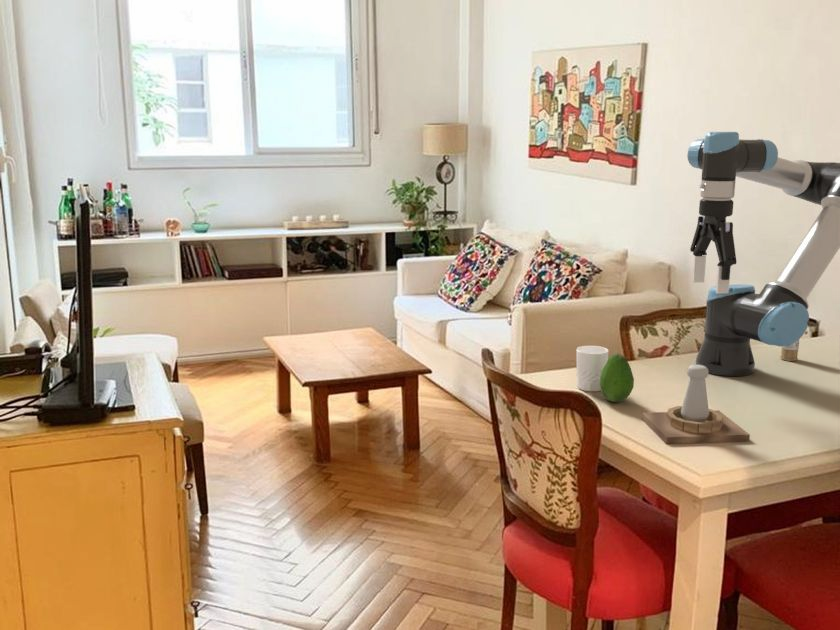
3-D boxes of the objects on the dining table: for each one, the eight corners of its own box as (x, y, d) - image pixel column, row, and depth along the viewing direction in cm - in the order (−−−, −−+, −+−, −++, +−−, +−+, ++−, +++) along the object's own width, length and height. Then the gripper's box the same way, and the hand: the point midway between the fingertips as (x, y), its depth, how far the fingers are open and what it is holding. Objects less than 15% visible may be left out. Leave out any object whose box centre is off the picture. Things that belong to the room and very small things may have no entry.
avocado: (604, 407, 196) (606, 358, 193) (594, 396, 204) (597, 349, 201) (637, 406, 197) (640, 357, 194) (626, 395, 204) (629, 348, 202)
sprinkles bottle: (787, 356, 238) (791, 310, 235) (801, 360, 234) (806, 313, 231) (776, 358, 236) (781, 312, 233) (790, 362, 232) (795, 315, 229)
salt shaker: (700, 417, 185) (704, 361, 182) (713, 426, 179) (717, 369, 176) (675, 419, 184) (679, 362, 181) (687, 428, 178) (692, 370, 175)
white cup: (570, 389, 209) (572, 351, 207) (580, 381, 216) (581, 344, 214) (601, 394, 206) (603, 355, 203) (610, 385, 212) (612, 347, 210)
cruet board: (718, 416, 190) (719, 402, 189) (749, 441, 175) (750, 425, 174) (641, 419, 188) (642, 404, 188) (666, 444, 174) (667, 428, 173)
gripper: (680, 194, 207) (674, 278, 212) (724, 204, 183) (716, 298, 188) (709, 194, 208) (703, 277, 212) (757, 203, 183) (749, 297, 188)
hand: (709, 287), depth 200 cm, fingers open, 13 cm apart
